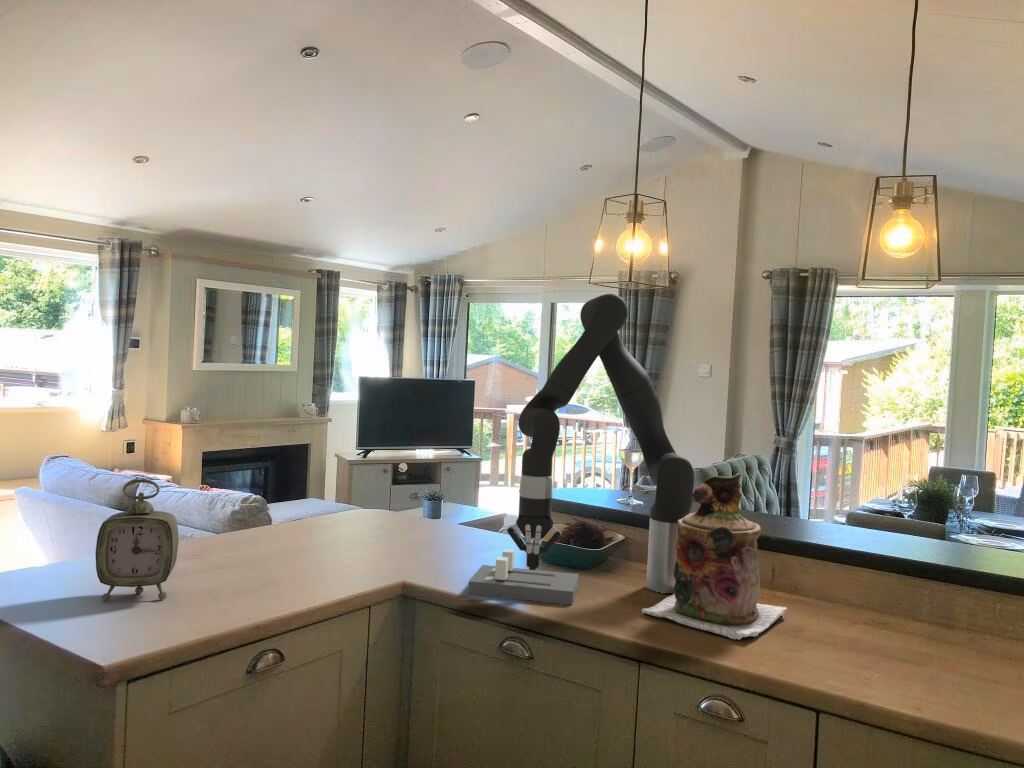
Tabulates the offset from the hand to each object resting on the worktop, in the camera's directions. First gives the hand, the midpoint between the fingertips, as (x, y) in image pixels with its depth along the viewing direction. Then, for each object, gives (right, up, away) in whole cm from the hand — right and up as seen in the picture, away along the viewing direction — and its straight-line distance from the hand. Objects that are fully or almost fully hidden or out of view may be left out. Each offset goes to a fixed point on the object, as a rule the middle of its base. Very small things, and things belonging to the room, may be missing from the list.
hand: (532, 569), depth 172 cm
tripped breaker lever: (-7, -2, +1) cm, 8 cm away
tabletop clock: (-84, -3, -14) cm, 85 cm away
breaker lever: (-6, -2, +9) cm, 11 cm away
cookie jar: (+40, -9, -8) cm, 41 cm away
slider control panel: (-2, -6, +4) cm, 8 cm away
